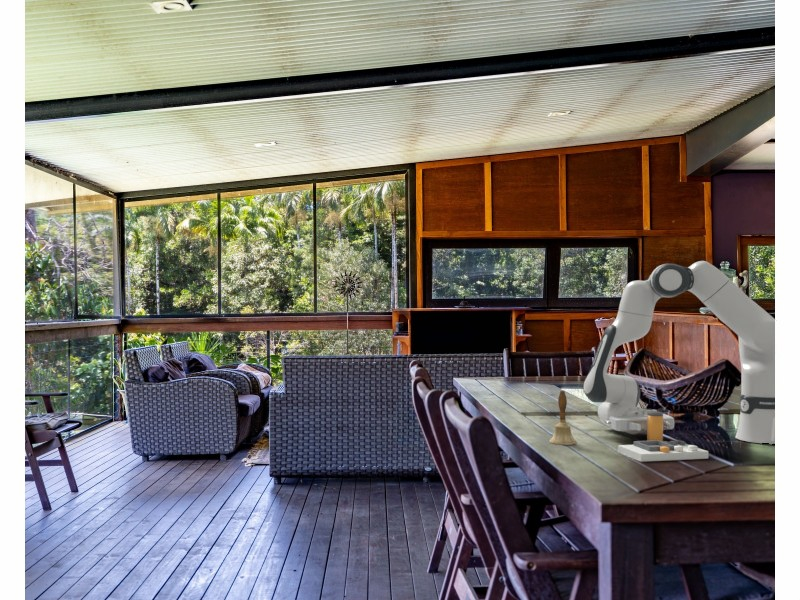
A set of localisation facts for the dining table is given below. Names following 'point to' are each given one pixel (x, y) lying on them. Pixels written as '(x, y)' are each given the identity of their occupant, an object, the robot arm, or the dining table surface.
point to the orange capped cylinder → (654, 426)
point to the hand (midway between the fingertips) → (655, 427)
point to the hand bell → (562, 425)
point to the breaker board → (662, 451)
